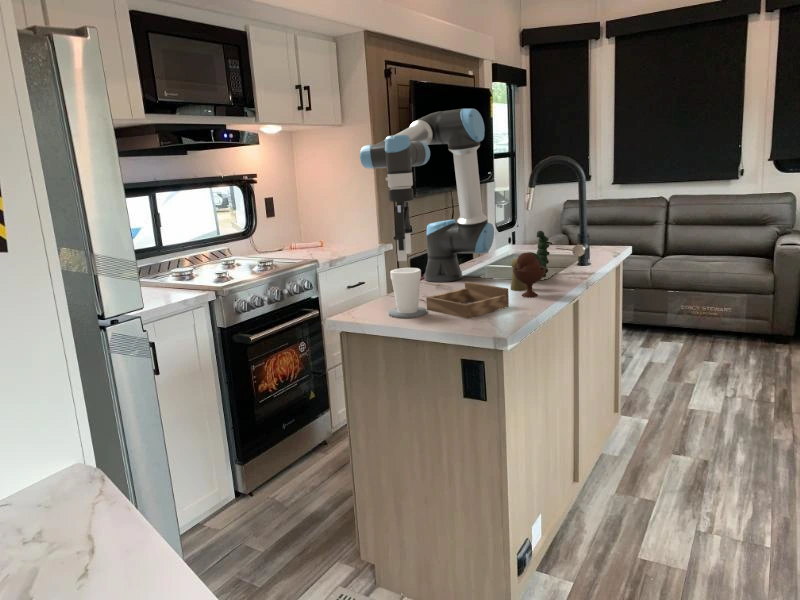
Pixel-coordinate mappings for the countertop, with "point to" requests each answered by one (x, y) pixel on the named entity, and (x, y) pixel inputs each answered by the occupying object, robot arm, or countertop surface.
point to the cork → (516, 280)
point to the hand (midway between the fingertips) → (405, 257)
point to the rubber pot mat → (396, 314)
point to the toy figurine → (542, 250)
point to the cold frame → (481, 294)
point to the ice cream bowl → (529, 272)
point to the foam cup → (406, 288)
